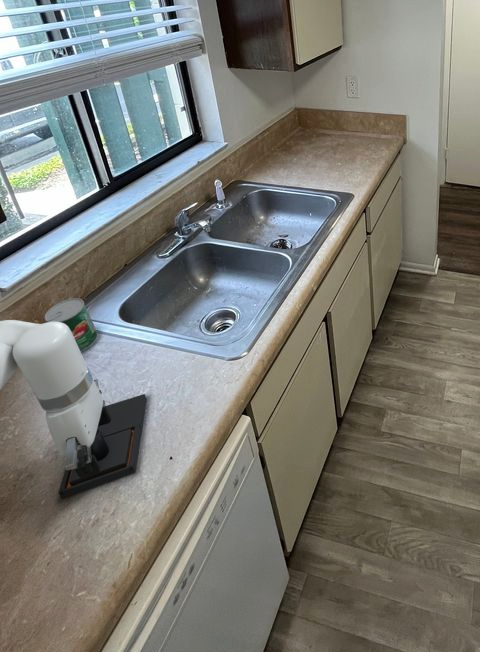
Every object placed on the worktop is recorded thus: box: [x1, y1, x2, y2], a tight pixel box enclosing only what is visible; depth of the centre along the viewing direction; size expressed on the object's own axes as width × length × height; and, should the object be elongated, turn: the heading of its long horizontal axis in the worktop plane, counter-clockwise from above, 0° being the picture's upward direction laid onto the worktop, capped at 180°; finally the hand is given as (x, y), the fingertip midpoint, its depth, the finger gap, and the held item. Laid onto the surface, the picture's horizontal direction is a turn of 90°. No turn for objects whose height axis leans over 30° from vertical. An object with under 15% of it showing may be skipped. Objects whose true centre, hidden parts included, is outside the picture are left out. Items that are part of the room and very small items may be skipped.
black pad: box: [69, 428, 133, 486], centre depth 83 cm, size 9×7×7 cm
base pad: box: [57, 393, 148, 499], centre depth 87 cm, size 12×16×2 cm
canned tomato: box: [44, 297, 99, 353], centre depth 108 cm, size 8×8×11 cm
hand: (96, 447), depth 83 cm, fingers open, 9 cm apart
